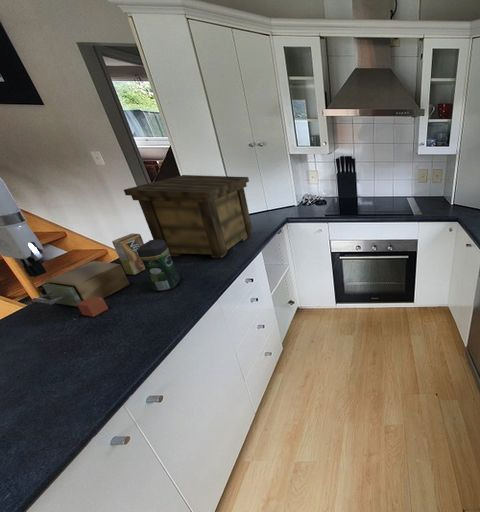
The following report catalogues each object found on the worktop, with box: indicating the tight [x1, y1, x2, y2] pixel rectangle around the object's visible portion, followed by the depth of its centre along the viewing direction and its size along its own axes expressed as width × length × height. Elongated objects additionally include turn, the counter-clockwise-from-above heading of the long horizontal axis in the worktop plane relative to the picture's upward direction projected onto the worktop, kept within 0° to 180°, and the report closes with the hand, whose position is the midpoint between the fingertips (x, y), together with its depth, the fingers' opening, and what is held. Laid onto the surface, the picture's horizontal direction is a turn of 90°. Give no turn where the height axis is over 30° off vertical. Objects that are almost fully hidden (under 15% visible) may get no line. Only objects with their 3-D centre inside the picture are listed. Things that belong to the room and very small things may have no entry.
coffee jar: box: [137, 239, 181, 292], centre depth 104 cm, size 10×8×19 cm
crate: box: [123, 174, 254, 259], centre depth 134 cm, size 35×35×33 cm
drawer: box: [31, 282, 83, 308], centre depth 96 cm, size 18×11×7 cm, turn 170°
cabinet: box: [45, 260, 131, 301], centre depth 100 cm, size 15×13×9 cm
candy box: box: [111, 232, 146, 276], centre depth 115 cm, size 9×4×15 cm, turn 175°
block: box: [76, 296, 109, 318], centre depth 91 cm, size 4×4×4 cm
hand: (38, 274), depth 86 cm, fingers closed
